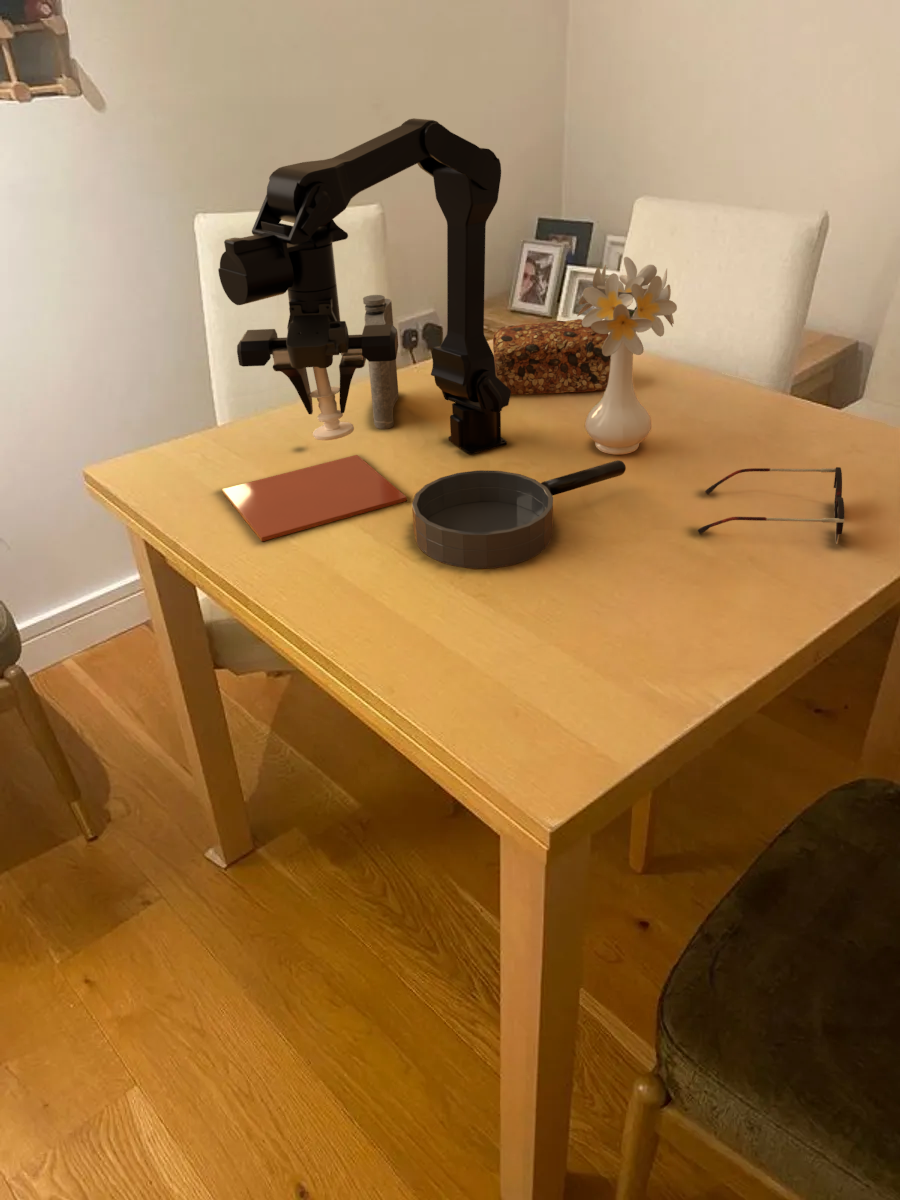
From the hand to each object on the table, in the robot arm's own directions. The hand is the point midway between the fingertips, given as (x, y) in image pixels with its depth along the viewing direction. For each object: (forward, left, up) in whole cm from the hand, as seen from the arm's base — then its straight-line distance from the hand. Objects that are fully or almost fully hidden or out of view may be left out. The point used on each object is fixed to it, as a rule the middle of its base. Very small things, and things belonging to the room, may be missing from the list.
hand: (326, 412), depth 121 cm
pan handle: (-27, +18, -10) cm, 33 cm away
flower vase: (-41, +7, -13) cm, 43 cm away
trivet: (+2, -3, -12) cm, 13 cm away
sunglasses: (-43, +34, -13) cm, 56 cm away
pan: (-12, +18, -12) cm, 25 cm away
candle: (-1, 0, -3) cm, 3 cm away
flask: (-19, -25, -13) cm, 34 cm away
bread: (-47, -20, -13) cm, 53 cm away
